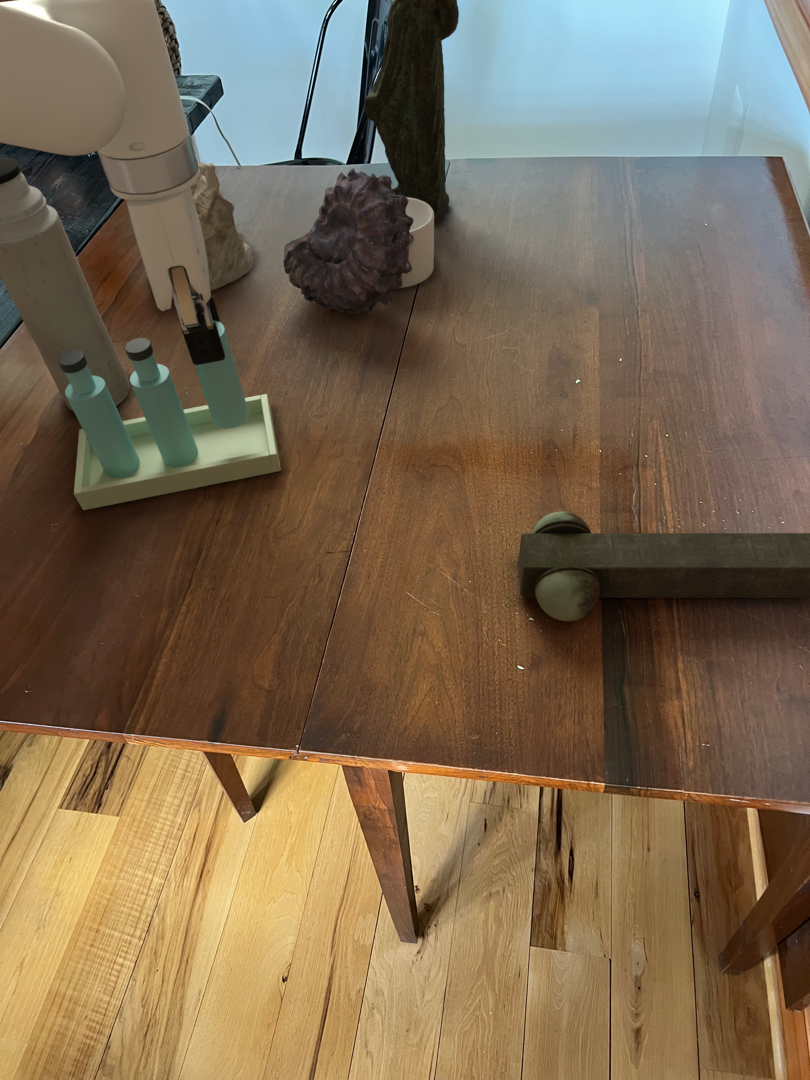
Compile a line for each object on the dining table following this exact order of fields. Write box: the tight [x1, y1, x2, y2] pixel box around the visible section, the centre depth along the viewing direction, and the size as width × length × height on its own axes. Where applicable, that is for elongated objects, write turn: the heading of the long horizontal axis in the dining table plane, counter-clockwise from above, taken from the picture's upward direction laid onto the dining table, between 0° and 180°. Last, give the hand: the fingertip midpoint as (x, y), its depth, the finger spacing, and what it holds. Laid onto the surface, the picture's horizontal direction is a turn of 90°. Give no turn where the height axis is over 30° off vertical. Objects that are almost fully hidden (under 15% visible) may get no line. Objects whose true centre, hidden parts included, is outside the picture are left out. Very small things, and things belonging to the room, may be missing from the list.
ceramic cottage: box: [172, 161, 255, 299], centre depth 109 cm, size 16×16×15 cm
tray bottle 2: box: [124, 337, 198, 467], centre depth 81 cm, size 4×4×15 cm
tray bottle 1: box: [58, 350, 140, 478], centre depth 81 cm, size 4×4×15 cm
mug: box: [398, 197, 435, 289], centre depth 108 cm, size 13×10×8 cm
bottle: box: [192, 292, 249, 429], centre depth 79 cm, size 4×4×15 cm
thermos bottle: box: [0, 156, 131, 412], centre depth 85 cm, size 8×8×28 cm
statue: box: [363, 0, 460, 226], centre depth 108 cm, size 15×10×35 cm, turn 83°
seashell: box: [283, 168, 414, 315], centre depth 98 cm, size 20×13×15 cm
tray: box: [73, 393, 282, 511], centre depth 86 cm, size 22×11×3 cm, turn 102°
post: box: [517, 510, 810, 622], centre depth 70 cm, size 11×6×30 cm
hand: (207, 345), depth 77 cm, fingers closed on bottle, 4 cm apart
